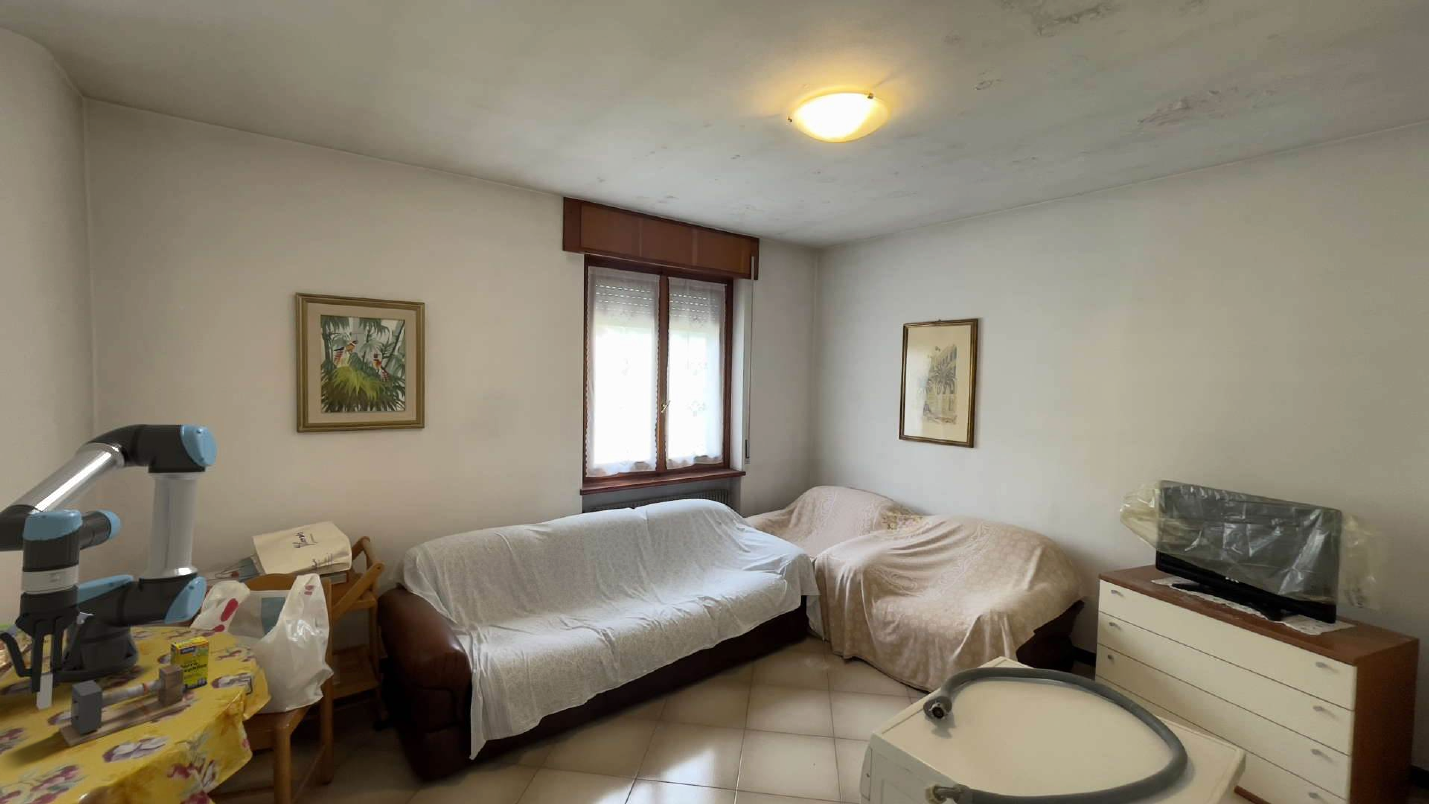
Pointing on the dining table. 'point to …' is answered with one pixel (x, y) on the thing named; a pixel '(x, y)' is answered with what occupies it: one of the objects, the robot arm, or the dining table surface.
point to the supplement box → (192, 661)
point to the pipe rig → (134, 706)
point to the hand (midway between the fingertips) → (43, 706)
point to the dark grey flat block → (87, 706)
